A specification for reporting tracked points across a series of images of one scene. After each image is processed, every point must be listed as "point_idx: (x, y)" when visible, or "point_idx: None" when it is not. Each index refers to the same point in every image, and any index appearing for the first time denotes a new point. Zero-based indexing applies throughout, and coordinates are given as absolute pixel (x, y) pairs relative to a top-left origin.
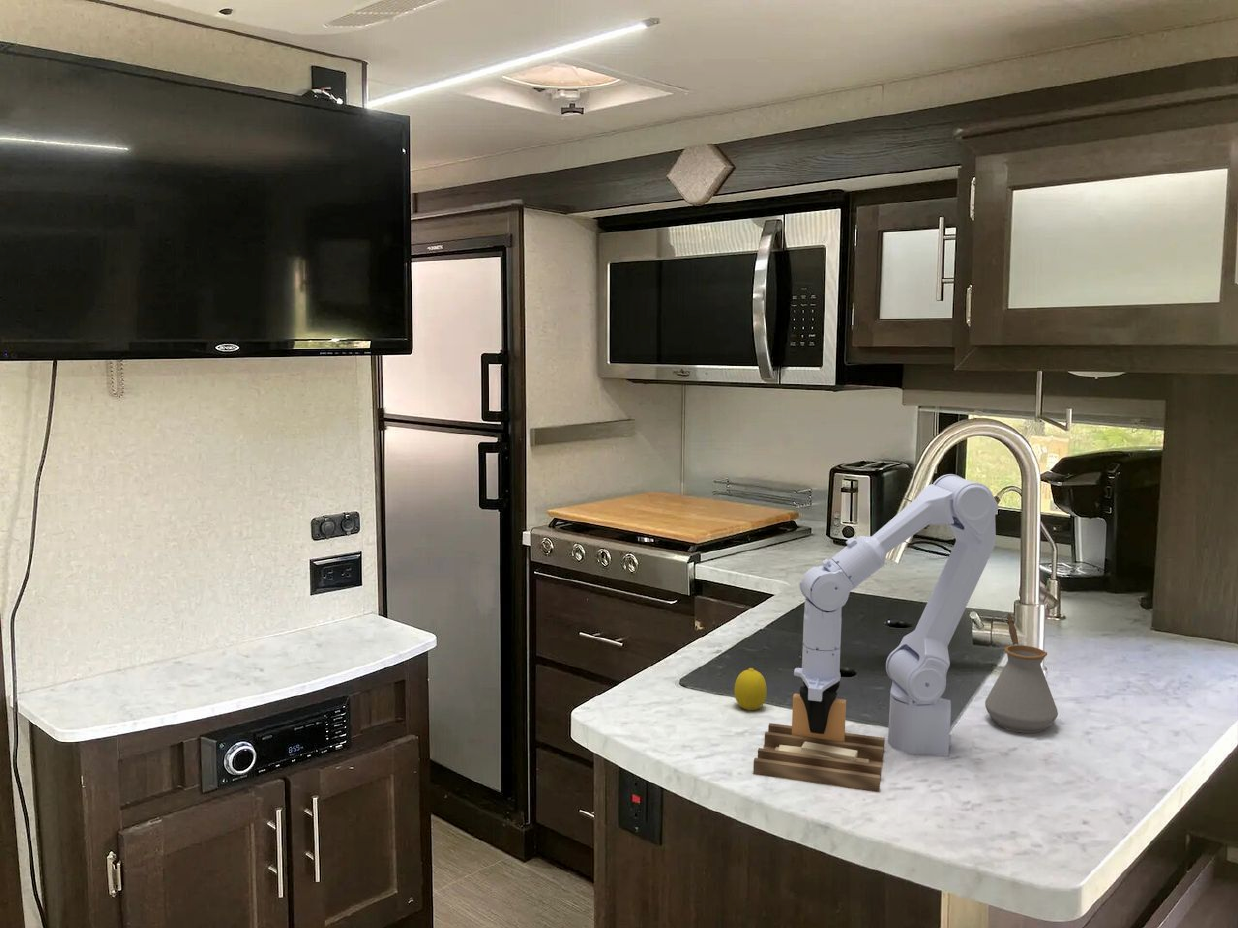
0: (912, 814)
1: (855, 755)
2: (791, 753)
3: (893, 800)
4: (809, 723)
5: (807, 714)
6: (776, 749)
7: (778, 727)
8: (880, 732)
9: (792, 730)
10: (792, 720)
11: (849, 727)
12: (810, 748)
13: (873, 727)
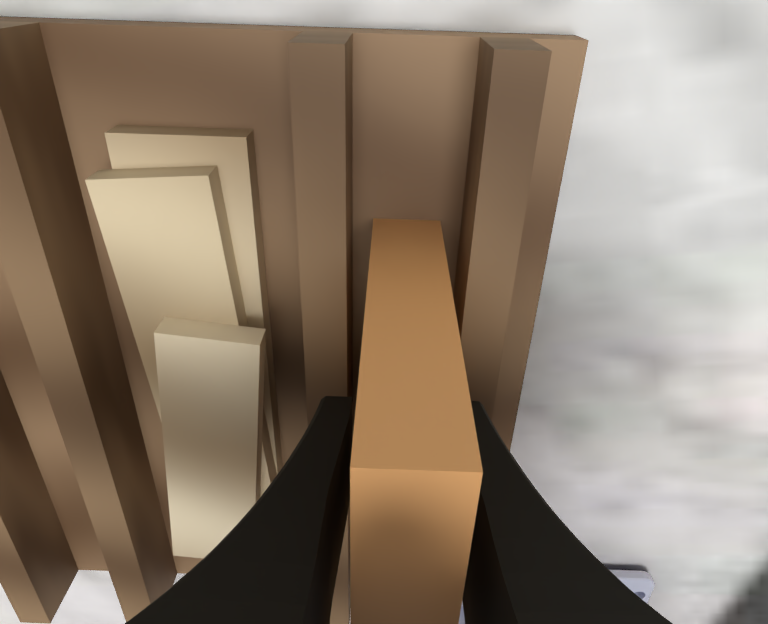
0: (13, 612)
1: (200, 554)
2: (34, 282)
3: (78, 576)
4: (303, 435)
5: (272, 483)
6: (199, 145)
7: (481, 140)
8: (700, 548)
9: (369, 269)
10: (366, 308)
11: (763, 449)
12: (166, 380)
13: (760, 528)
